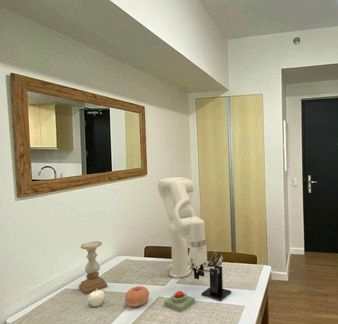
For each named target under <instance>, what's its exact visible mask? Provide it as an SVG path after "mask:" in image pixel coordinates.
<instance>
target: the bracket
mask: <svg viewBox="0 0 338 324" xmlns="http://www.w3.org/2000/svg"><path fill="white" fill-rule="evenodd" d="M214 268H219V271H220V273H218V270H217V269H214ZM208 270H210V272H209V287H208V288H207V289H205V290H204V291H202V292H201V296H203V297H205V298H209V299H213V300H216V301H219V302H222V301H223V300H225V299H226V298H227V297H229V295H231V294H232V290H229V289H226V288H224V286H223V284H224V283H223V266H221V265H215V266H213V267H210V268H209V269H208Z"/></svg>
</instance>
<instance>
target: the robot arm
mask: <svg viewBox="0 0 338 324" xmlns="http://www.w3.org/2000/svg"><path fill="white" fill-rule="evenodd" d="M157 191H158V194H159V196H160V198H161V199H162V201H163V204H164V208H165V211H166V214H167V218H168V220H169V221H171V222H172V223H170V225H169V226H168V227H169V230H168V231H169V236H170V242H171V243H170V244H171V245H170V247H171V263H170V264H169V265H168V269H170V271H169V276H170V277H171V278H174V279H175V278H176V279H180V278H185V277H188V276H190V275H191V274H192V272H193V279H194V280H197V281H198V280H200V277H203V278H204V277H205V272H201V273H200V274H199V272H198V268H200V269H201V270H205V268H206V264H207V263H208V262H209V261H208V250H207V245H206V226H205V225H206V224H205V220H204V219H202V218H200V217H199V216H196V212H195V210H194V207H193V206H192V205H191V204H190V203H191V198H190V197H189V193H193V192H194V191H195V183H194V181H193V180H192V179H190V178H188V177H185V176H176V177H175V176H174V177H164V178H161V179H160V180H158V182H157ZM186 237H191V239H190V241H191V245H190V246H189V244H188V242H187V240H186V239H185V238H186ZM188 247H189V248H188ZM188 255H189V263H188Z"/></svg>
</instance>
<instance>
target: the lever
mask: <svg viewBox="0 0 338 324" xmlns="http://www.w3.org/2000/svg"><path fill="white" fill-rule="evenodd" d="M213 269H217V270H218V273H220V271H219V268H214V267H213ZM198 272H199V274H200V273H201V272H204V273H210V270H209V269H204V270H201V269H200V267H198Z"/></svg>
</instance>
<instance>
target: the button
mask: <svg viewBox="0 0 338 324" xmlns="http://www.w3.org/2000/svg"><path fill="white" fill-rule="evenodd" d="M183 293H184V291H182V290H179V291H175V293H174V294H175V295H176V298H182V297H183Z"/></svg>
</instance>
